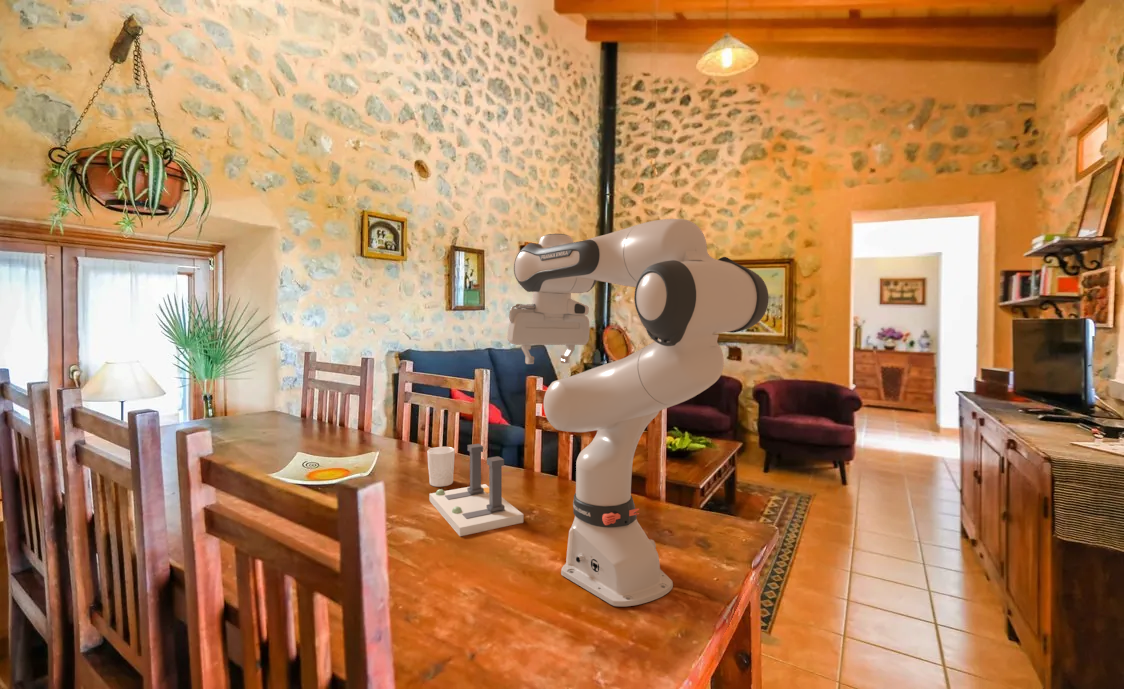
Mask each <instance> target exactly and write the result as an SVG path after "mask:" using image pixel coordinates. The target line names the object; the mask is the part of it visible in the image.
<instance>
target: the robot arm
mask: <svg viewBox="0 0 1124 689" xmlns="http://www.w3.org/2000/svg"><path fill="white" fill-rule="evenodd" d="M513 274H514V277H515V279H516V281H517V282H518V284H519V286H521V287H522V288H523V289H524V290H525V291H526V292H527V293H529V292H530V293H532V303H529V304H528V303H527V304H523V303H517V304H515V305H513V306H512V307H511V308H510V310H509V315H508V317H509V324H508V329H507V336H506V337H507V341H508V342H509V343H510V344H512V345H514V346H515V345H516V346H517V345H518V346H521V351H522V352H523V355H524V356H525V357H524V358H525V359H524V360H525V361H524V363H525V364H526V365H534V363H535V356H532V354H531V353H530V350H531V348H532V346H541V345H542V346H565V349H566V351H565V352H564V355H560V363H561V364H569V363H570V360H571V359H570V358H571V356H572V354H574V351H575V347H576V346H586V345H587V344H588V342H589V340H590V332H591V331H590V320H589V317H588V316H587V315H588V314H589V312H590V310H589V306H588V305H586V304H584V303H581V302H579V301H577V300H574V299H572V295H571V294H584V293H588V292H590V291H591V290H592V289H593V288H594V287H595V286H596V284H597V282H603V283H608V284H614V285H619V286H622V287H623V286H624V287H631V288H635V289H634V307H635V309H636V312H637V316H638V317H639V320H640V322H641V324H642V326H643V327H644V328H645V331H646V333H647V335H648V336H649V337H650V339H652V340H653V342H651V343H649V344H648V345H646V346H644V347H641V349H638V350H636V351H635V352H633V353H631V354H629V355H627V356H625V357H623V358H621V359H618V360H615V361H611V362H608V363H604V364H602V365H598V366H596V367H592V368H591V369H587V370H584V371H583V372H579V373H577V374H574V375H571V376H567V377H563V378H561V379H557V380H554V381H552V382H551V383H550V385H548V387H547V389H546V390H545V393H544V397H543V410H544V415H545V417H546V420H547V421H548V423H549V424H550V425H551V426H552V427H553V429H555V430H557V431H562V432H571V433H587V432H595V431H596V434H595V436H594V437H593V439H592V441H591V442H590V443H588V445H587V446H586V447H584V448H583V449H582V450H581V451H580V452H579V454H578V456H577V458H576V461H575V462H576V463H575V465H576V466H575V468H576V469H575V470H576V471H575V493H574V495H573V499H572V501H573V502H572V506H573V507H572V508H573V515H574V519H573V522H572V525H571V527H570V528H569V530H568V538H567V548H566V549H567V550H566V559H565V561H566V562H565V564H563V566H562V567H561V569H560V570H561V571H560V574H561V576H563V577H564V578H566V579H568V580H569V581H571V582H573V583H574V584H576V585H577V586H580V587H581V588H583V589H584V590H585V591H587V592H589V593H590V594H592V595H594V596H595V597H597V598H599V599H601V600H603V601H604V602H606V603H607V604H609V605H611V606H613V607H631V606H638V605H642V604H645V603H646V604H647V603H649V602H652V601H655V600H658V599H660V598H662V597H664V596H665V595H667V594H668V593H669V592H671V591H672V589H673V588H674V587H673V586H674V583H673V580H672V579H671V578H670V577H669V576H668V575H667V574H666V573H665V572H664V571H663V570H662V569H661V563H660V557H659V553H658V551H657V549H656V548H657V546H656V541H655V540H654V539H649V538H648V536H647V534H646V532H645V530H644V529H643V528H642V526H641V525H640V523H639V522H638V519H637V517H638V516H637V515H640V512H638V511H640V508H636V505H635V503H634V499H633V495H631V493H632V475H633V474H632V473H633V461H634V457H635V452H636V449H637V447H638V444H639V441H640V439H641V437H642V435H643V433H644V431H645V430H646V428H647V427H648V425H649V424H650V423H651V422H652V421H653V419H655V418H657V416H658V415H659V413H660V411H662V410H665V409H668V408H670V407H673V406H676V405H679V404H682V403H684V402H686V401H689V400H690V399H692V398H695V397H696V396H697V395H700V394H701V393H703V392H704V391H706V390H707V389H709V388H710V387H711V386H713V385H714V384H715V383H716V382H717V381H718V380H719V379H720V378H721V376H722V374H723V370H724V367H725V366H724V364H725V361H724V360H725V359H724V354H723V350H722V349H721V347H720V344H719V343H718V338H719V336H720V334H721V333H733V334H734V333H738V332H743V331H745V330H747V329H750V328H752V327H754V326H755V325H757V324H759V322H760V321H761V320H762V319H763V318H764V315H765V314H766V313H767V309H768V306H769V291H768V287H767V284H766V282H765V281H764V279H763V278H762V277H761V276H760V275H759V274H758V273H756V272H755V271H753V270H752V269H750V268H748V267H745V266H743V265H742V264H739V263H737V262H735V261H734V260H732V259H731V258H729V257H727V256H722V257H721V258H718V259H716V258H713V257H712V256H710V254H709V252H708V245H707V240H706V237H705V234H704V232H703V231H702V229H701V228H700V227H699V226H698V225H697V224H696V223H694V222H693V221H691V220H688V219H685V218H665V219H664V218H663V219H657V220H650V221H646V222H642V223H638V224H636V225H635V224H634V225H632V226H629V227H626V228H622V229H620V230H616V231H612V232H609V233H606V234H603V235H598V236H595V237H591V238H588V239H585V240H584V239H583V240H578V241H575V242H574V239H573V238H572V237H571V236H570V235H567V234H564V233H549V234H545V235H543V236H541V237H540V239H539V241H538V243H533V242H530V243H527V244H526V245H525V246H523V247H522V248H521V249H520V251H519V252H518V253H517V254H516V257H515V260H514V262H513Z"/></svg>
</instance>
